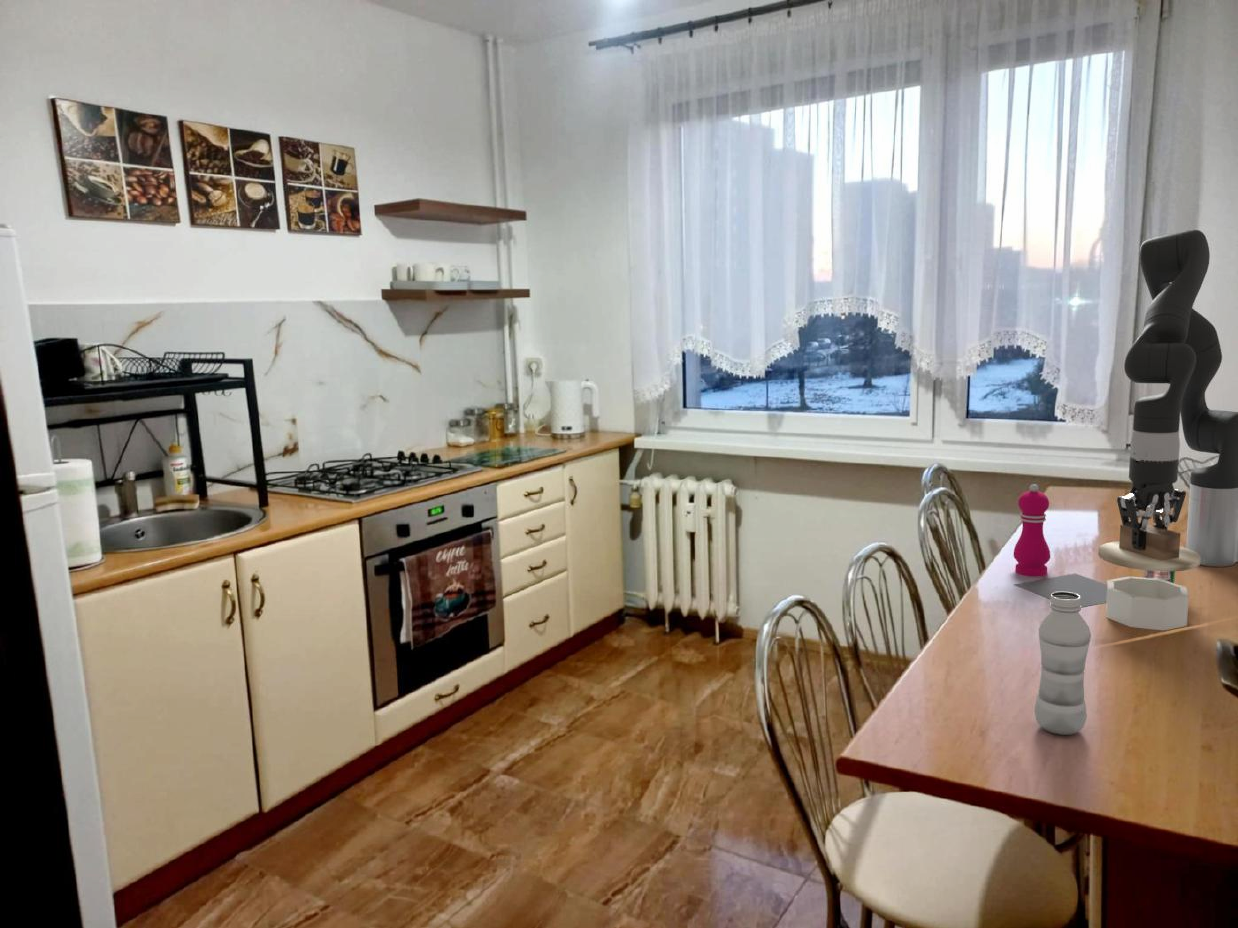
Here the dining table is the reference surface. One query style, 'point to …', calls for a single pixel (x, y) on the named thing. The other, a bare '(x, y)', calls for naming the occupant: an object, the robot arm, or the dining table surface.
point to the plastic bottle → (1062, 666)
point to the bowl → (1147, 603)
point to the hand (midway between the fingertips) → (1148, 547)
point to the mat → (1070, 588)
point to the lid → (1150, 551)
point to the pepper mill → (1032, 534)
